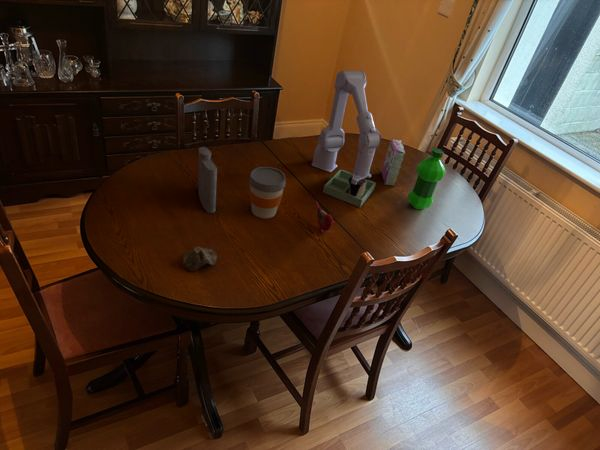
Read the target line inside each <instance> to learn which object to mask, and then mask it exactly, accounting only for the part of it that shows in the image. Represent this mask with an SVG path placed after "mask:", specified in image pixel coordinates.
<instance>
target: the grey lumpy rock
mask: <svg viewBox="0 0 600 450" xmlns="http://www.w3.org/2000/svg"><path fill="white" fill-rule="evenodd" d="M182 257H183V258H182V265H183V267H184V268H186V270H188V271H190V272H197V271H199V270H200V269H201V268H203V266H208V267H213V266H214V265H216V264H217V260H218V255H217V252H216V251H215V250H214V249H213V248H212V246H205V247H204V246H203V247H201V246H198V245H197V246H195V247H193V249H192V250H190V251H188V252H185V253H183V254H182Z"/></svg>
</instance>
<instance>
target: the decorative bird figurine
mask: <svg viewBox="0 0 600 450" xmlns="http://www.w3.org/2000/svg"><path fill="white" fill-rule="evenodd" d="M315 204H316V209H317V210H316V211H317V213H316V214H317V215H316V216H317V222H318V225H319V229H320V231H321V233H322V234H323V235H325V234H324V231H326V232H327V231H330V229H331V227H332V226H333V223H334V218H333V216H332V215H331V214H330V213H329V214H328V213H327V212H326V211H324V210H323V209H322V208H321V207H320V205H319V203H318V200H317V199H315Z"/></svg>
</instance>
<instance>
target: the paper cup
mask: <svg viewBox="0 0 600 450" xmlns="http://www.w3.org/2000/svg"><path fill="white" fill-rule="evenodd" d="M367 180H368V179H367ZM367 180H366V179H365V178H364V179H361V180H359V181H360V182H362V183H364V184H363V185H362V186H361V187H360V189H359V191H358V193H357V195H356V196H355V197H358V198H360V199H362V197H363V194H364V190H365V186H366V183H367ZM348 194H350V189H349V193H348ZM350 195H351V194H350Z"/></svg>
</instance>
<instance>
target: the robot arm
mask: <svg viewBox="0 0 600 450" xmlns="http://www.w3.org/2000/svg"><path fill="white" fill-rule="evenodd" d="M366 86H367V76H366V73H365V72H364V71H363V70H340V71H338V72H336V76H335V82H334V87H333V89H335V90H334V96H333V100H332V106H331V109H330V110H331V111H330V116H329V121H328V125H327V126H325V127H324V128H322V129H321V131H320V135H319V136H318V140H317V142H318V144H317V145H316V147H315V149H314V152H313V157H312V163H311V166H312V167H314V168H317V169H320V170H322V171H325V172H327V173H332V172H333V171H334V170H335V169H336V168H338V165H339V164H336V161H337V157H338V153H339V151H340V149H341V148H343V147H344V144H345V134H346V133H345V131H344V129H343V128H342V124H343V120H344V116H345V111H346V106H347V101H348V97H349V95H351V96H352V99H353V103H354V105H355V108H356V111H357V115H356V117H355V118H356V123H357V127H358V130H359V134H360V135H359V136H358V147H357V148H358V153H357V156H356V157H357V158H356V162H355V165H354V169H353V170H352V174H353V178H351V177H350V178H349V184H350V194H351V195H353V196H356V195H357V193H358V191H359V189H360V187H361V186H362V185H363V184H364V183H362V182H360V181H359V180H361V179H364V178H365V179H366V180H369V179H371V177H372V173H371V172H370V170H371V166H372V164H373V159H374V156H375V152H376V149H377V148H379V147H380V146H381V144H382V135H381V132H380V131H378V128H376V127H375V122H374V118H373V114H372V113H371V112H370V111H368V103H367V97H366V91H365V88H366Z"/></svg>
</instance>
